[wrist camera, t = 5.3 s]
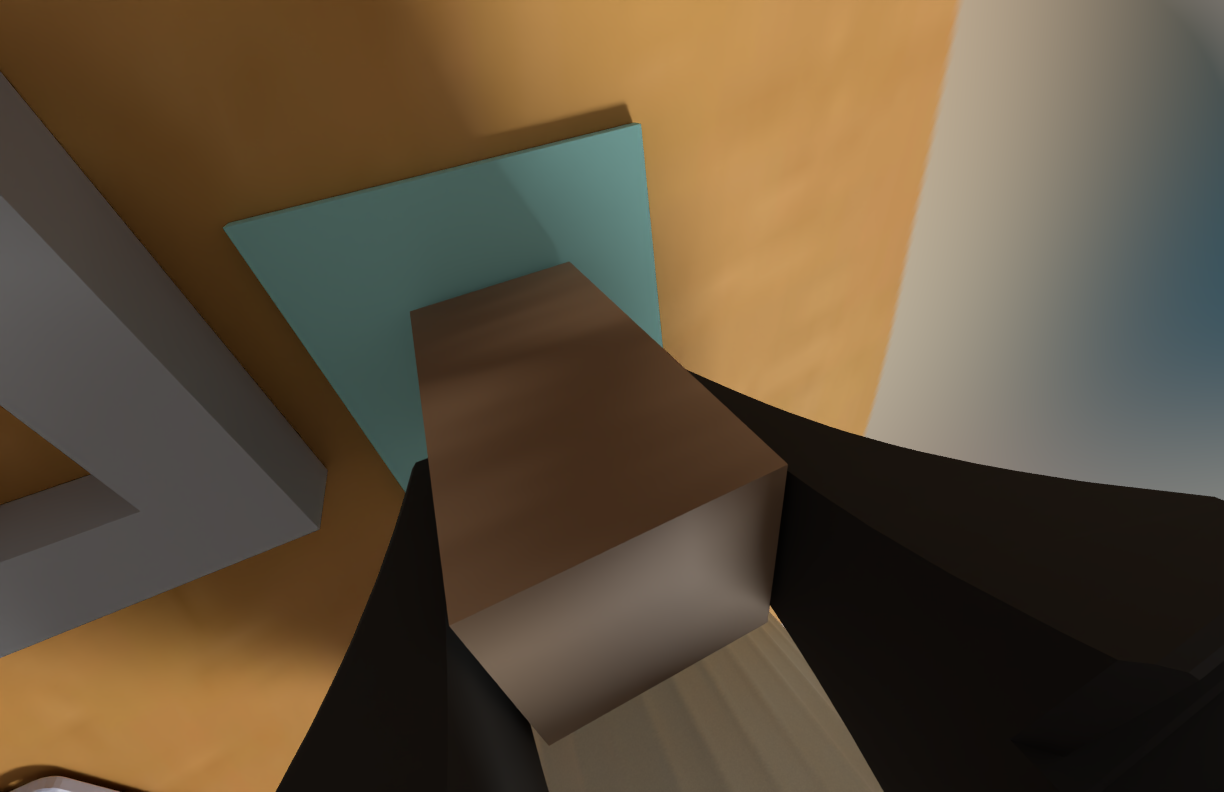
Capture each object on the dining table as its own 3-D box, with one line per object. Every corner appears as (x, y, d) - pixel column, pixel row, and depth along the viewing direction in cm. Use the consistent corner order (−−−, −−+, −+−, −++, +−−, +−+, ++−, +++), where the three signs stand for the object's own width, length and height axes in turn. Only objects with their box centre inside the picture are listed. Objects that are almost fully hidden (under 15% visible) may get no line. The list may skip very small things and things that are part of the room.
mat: (418, 503, 14) (419, 512, 14) (228, 223, 9) (223, 228, 9) (663, 403, 16) (668, 409, 16) (633, 122, 11) (641, 123, 11)
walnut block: (470, 435, 13) (548, 746, 7) (409, 311, 10) (448, 626, 4) (597, 385, 14) (767, 622, 8) (569, 261, 11) (787, 464, 5)
